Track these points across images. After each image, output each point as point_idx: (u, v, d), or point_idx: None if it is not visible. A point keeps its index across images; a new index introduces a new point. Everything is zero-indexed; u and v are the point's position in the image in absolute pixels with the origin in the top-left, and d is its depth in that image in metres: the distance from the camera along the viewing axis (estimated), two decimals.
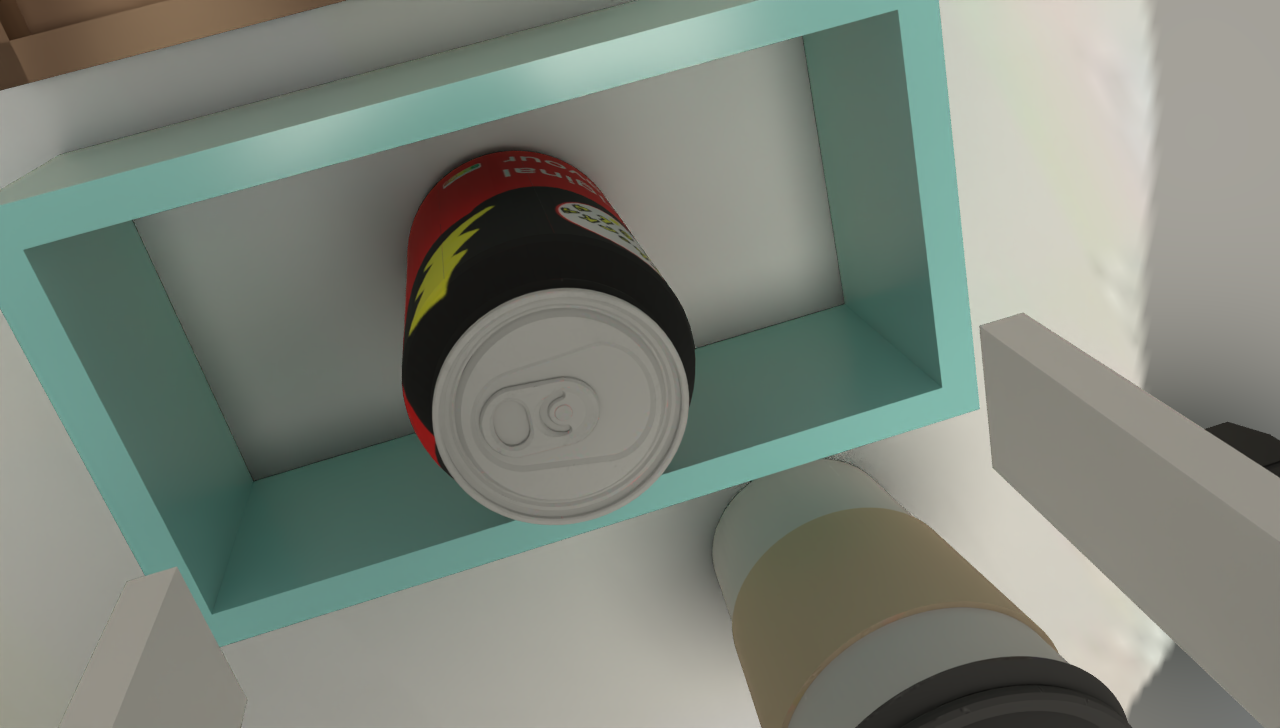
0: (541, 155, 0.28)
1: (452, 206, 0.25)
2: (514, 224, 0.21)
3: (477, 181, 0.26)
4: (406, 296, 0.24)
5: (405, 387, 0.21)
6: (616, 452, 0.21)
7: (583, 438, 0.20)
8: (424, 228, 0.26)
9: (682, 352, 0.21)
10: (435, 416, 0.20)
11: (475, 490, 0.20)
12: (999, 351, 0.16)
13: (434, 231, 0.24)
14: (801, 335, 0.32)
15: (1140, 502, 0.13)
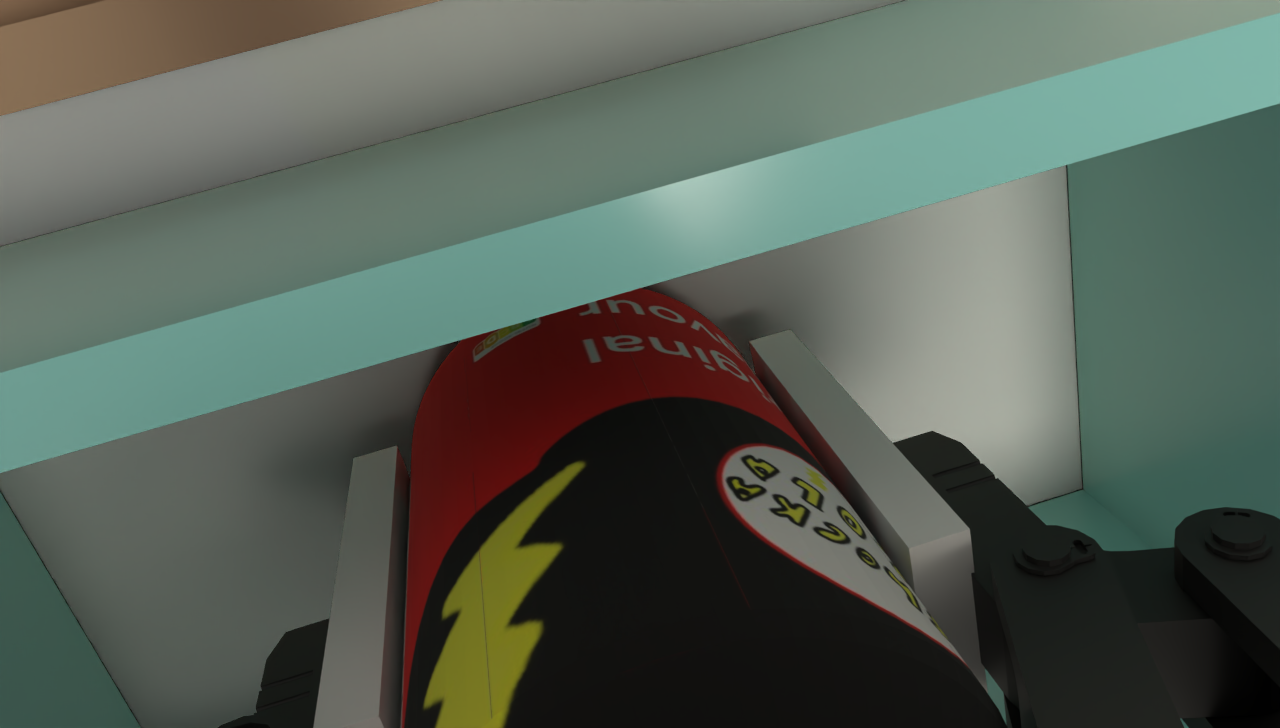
0: (639, 293, 0.17)
1: (494, 427, 0.13)
2: (644, 553, 0.10)
3: (538, 367, 0.14)
4: (407, 618, 0.12)
5: None
6: None
7: None
8: (441, 454, 0.14)
9: None
10: None
11: None
12: (761, 364, 0.17)
13: (461, 488, 0.13)
14: None
15: None
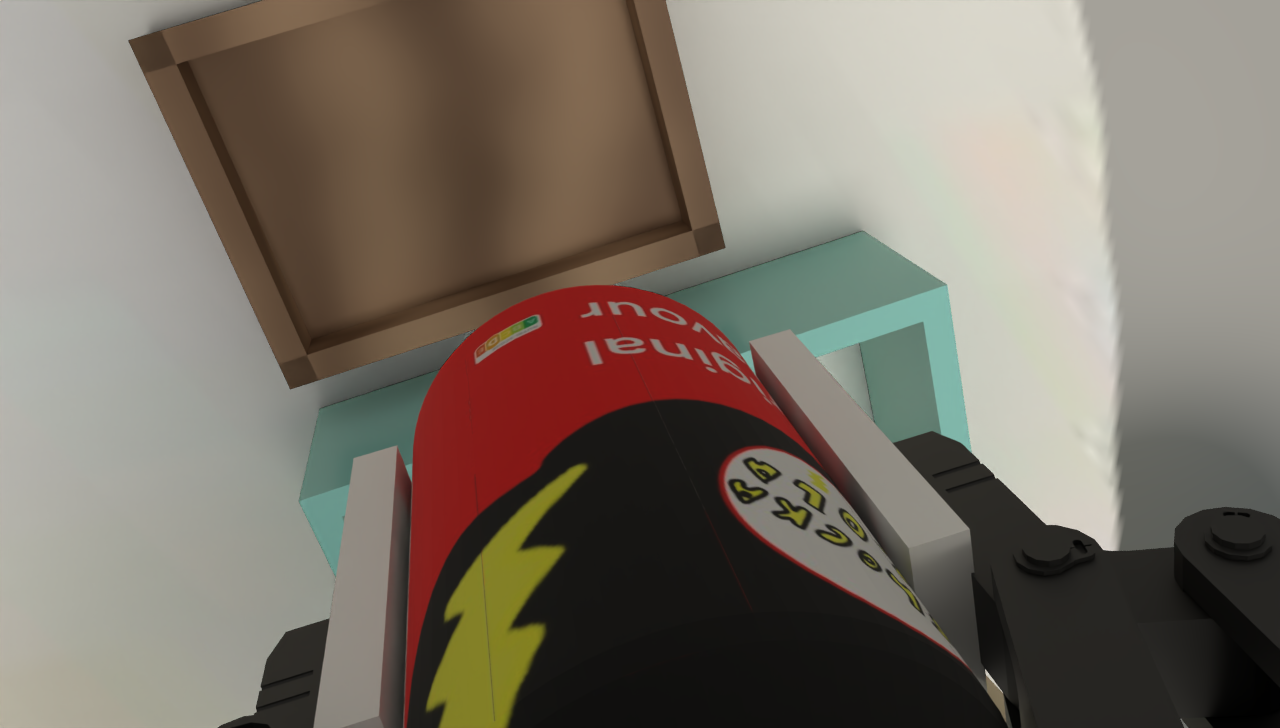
0: (641, 294, 0.17)
1: (496, 429, 0.13)
2: (646, 557, 0.10)
3: (540, 369, 0.14)
4: (409, 620, 0.12)
5: None
6: None
7: None
8: (443, 456, 0.14)
9: None
10: None
11: None
12: (761, 364, 0.17)
13: (463, 490, 0.13)
14: None
15: None
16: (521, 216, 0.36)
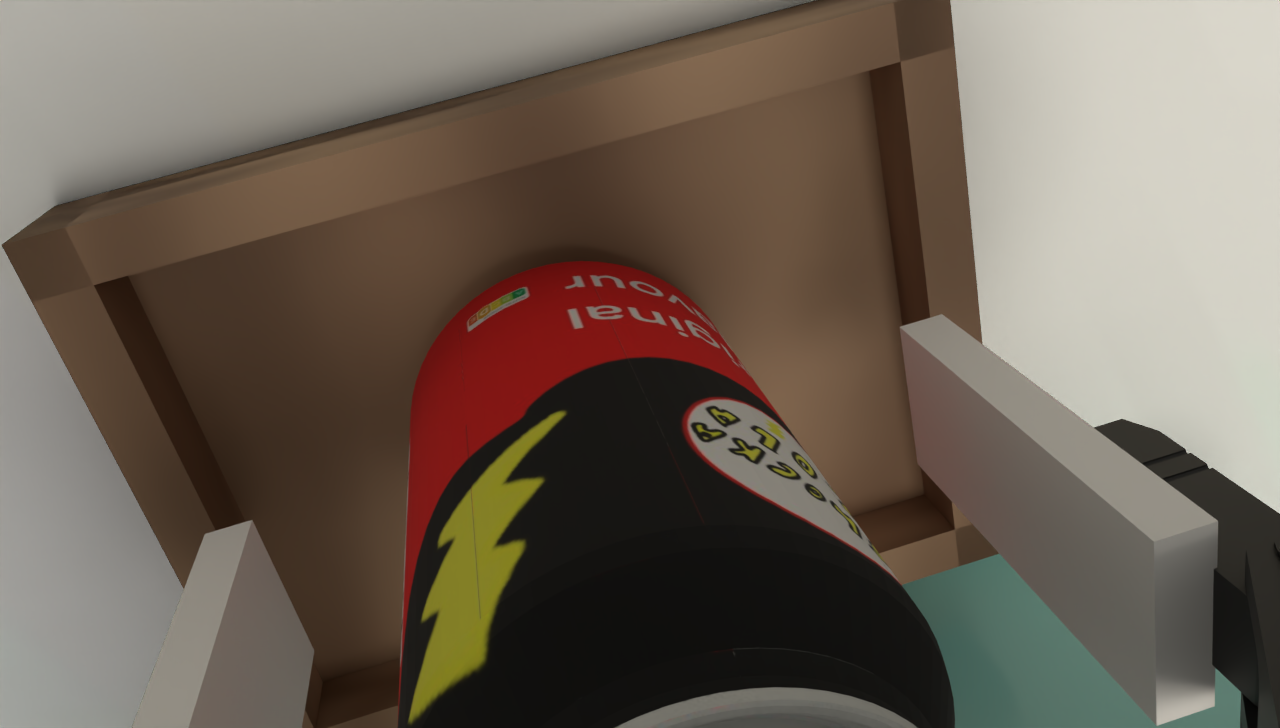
0: (621, 269, 0.18)
1: (486, 385, 0.15)
2: (615, 482, 0.11)
3: (526, 333, 0.15)
4: (406, 555, 0.14)
5: None
6: None
7: None
8: (437, 412, 0.15)
9: None
10: None
11: None
12: (916, 350, 0.16)
13: (455, 438, 0.14)
14: None
15: (1034, 495, 0.13)
16: None
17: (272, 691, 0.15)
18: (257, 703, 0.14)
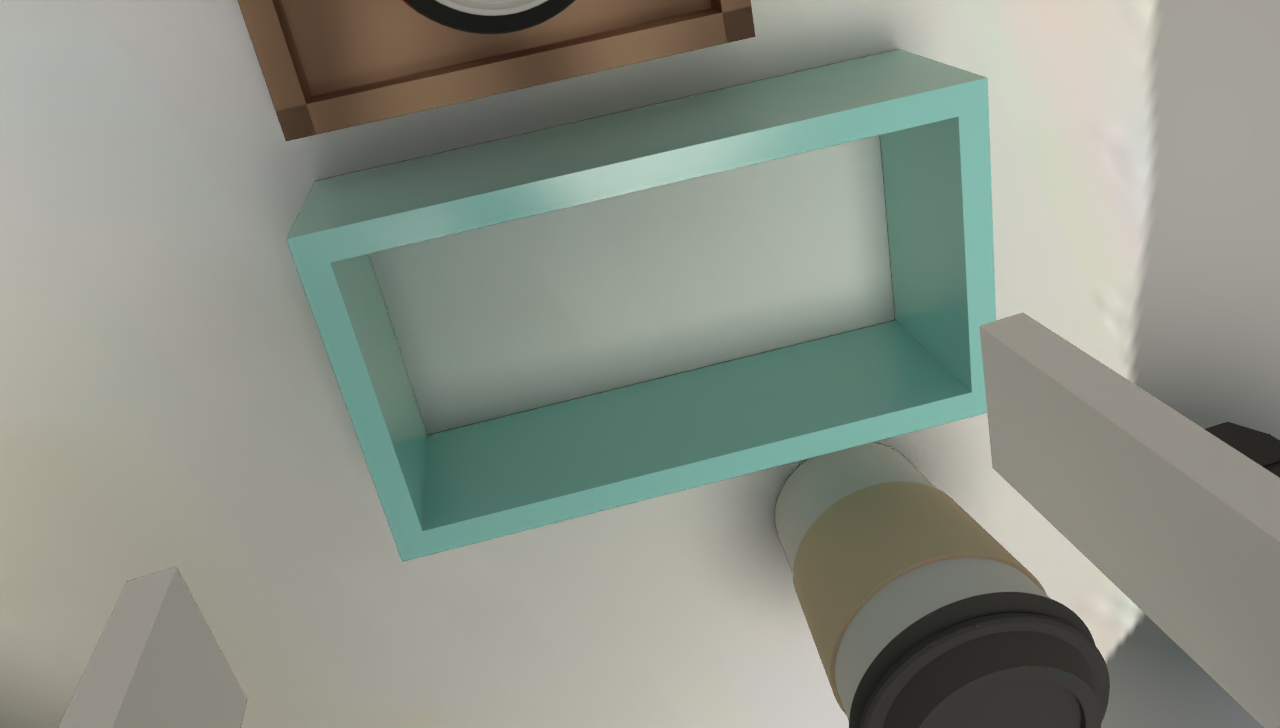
0: None
1: None
2: None
3: None
4: None
5: None
6: None
7: None
8: None
9: None
10: None
11: None
12: (1000, 351, 0.16)
13: None
14: (861, 344, 0.41)
15: (1140, 502, 0.13)
16: None
17: None
18: None
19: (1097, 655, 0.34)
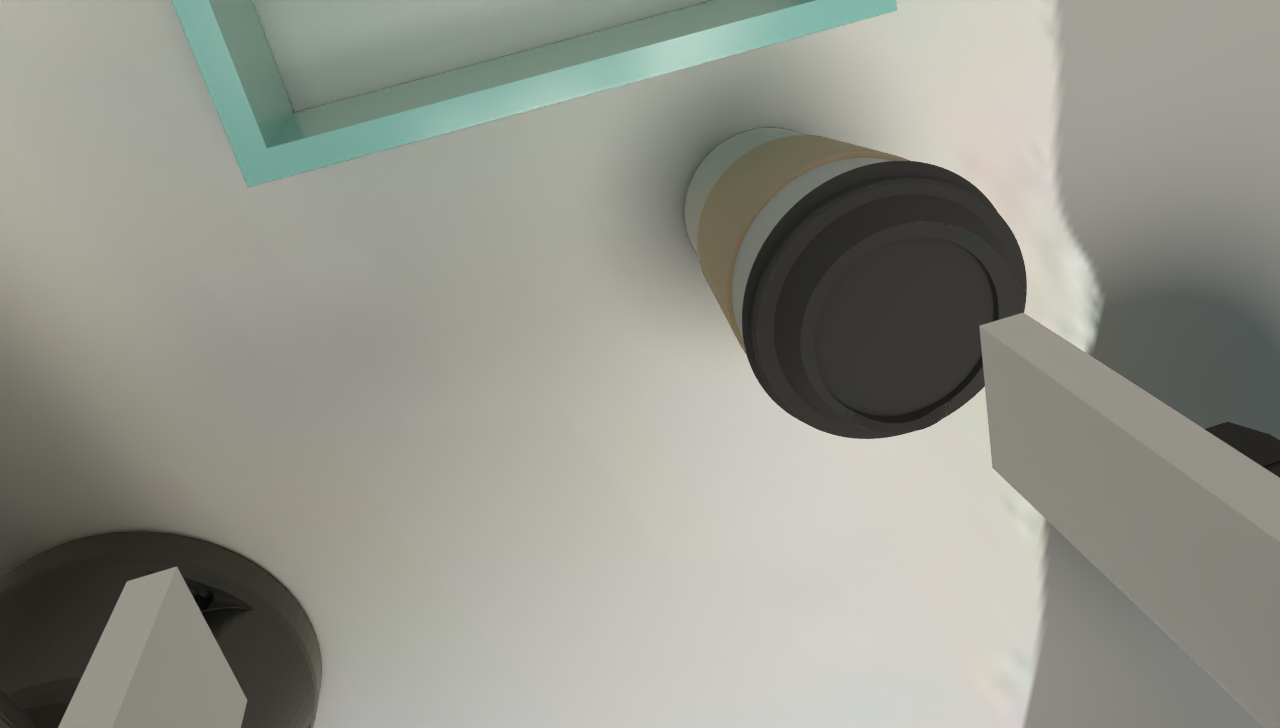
0: None
1: None
2: None
3: None
4: None
5: None
6: None
7: None
8: None
9: None
10: None
11: None
12: (1000, 351, 0.16)
13: None
14: None
15: (1140, 502, 0.13)
16: None
17: None
18: None
19: (1008, 231, 0.30)
